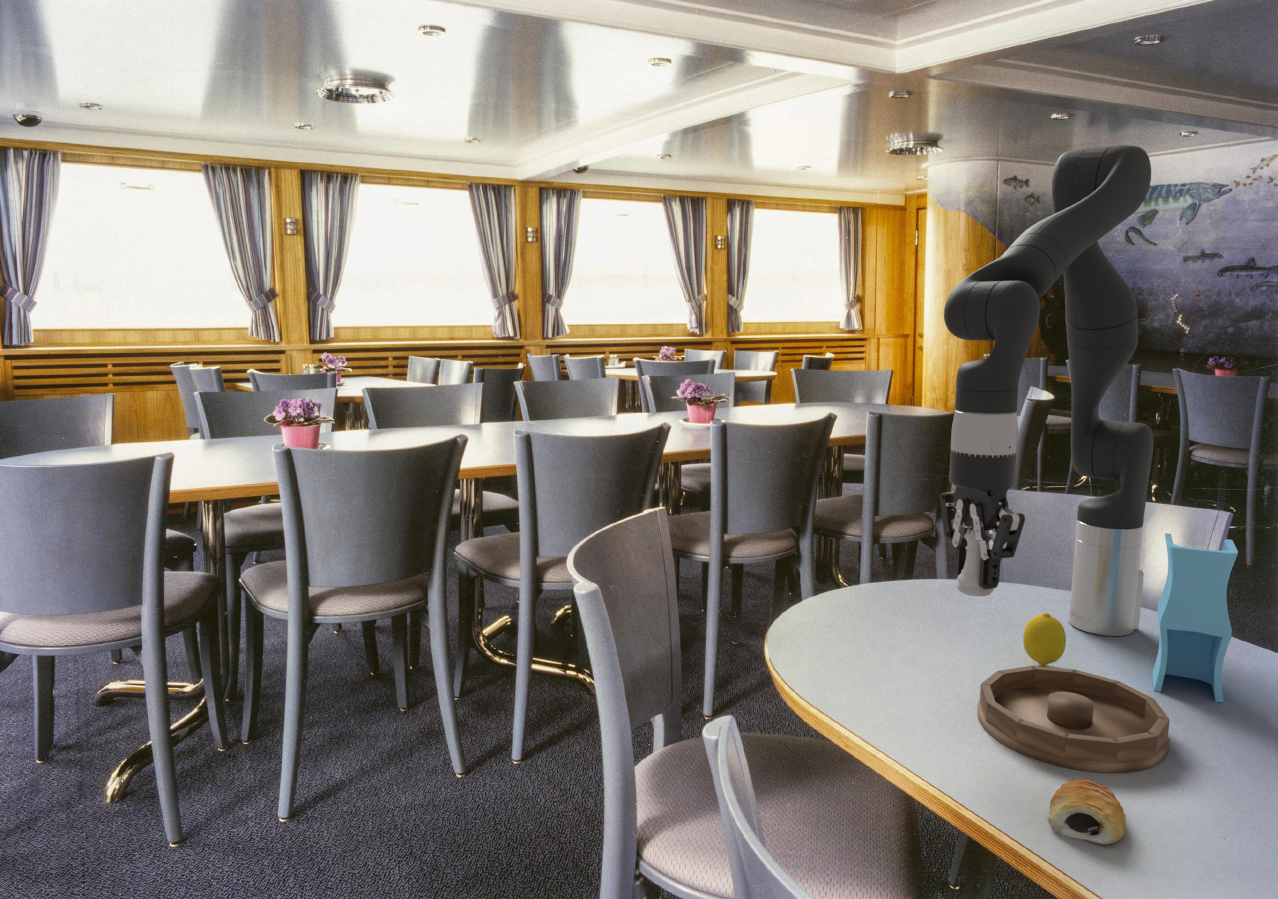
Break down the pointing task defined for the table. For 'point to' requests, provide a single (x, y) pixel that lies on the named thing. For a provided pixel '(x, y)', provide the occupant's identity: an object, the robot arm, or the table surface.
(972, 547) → the rook chess piece
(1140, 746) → the ring tray
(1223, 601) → the blue wavy stand
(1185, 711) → the table surface
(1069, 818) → the pastry
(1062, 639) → the lemon
